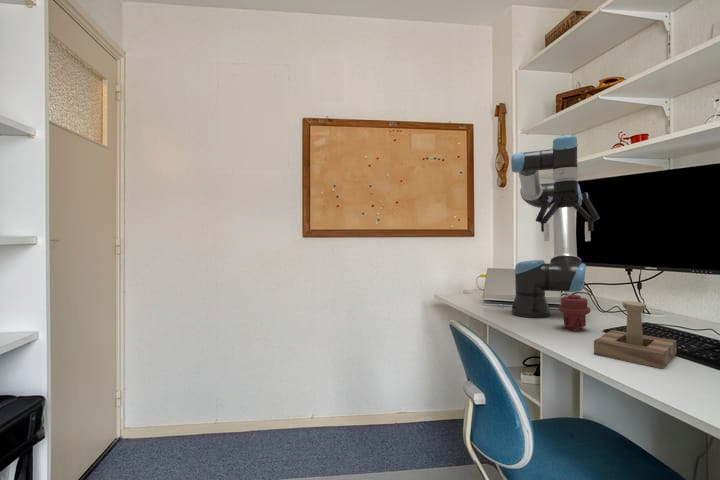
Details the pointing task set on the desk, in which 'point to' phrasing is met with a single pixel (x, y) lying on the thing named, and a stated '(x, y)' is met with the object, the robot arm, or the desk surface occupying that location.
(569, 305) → the mechanical component
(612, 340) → the socket block
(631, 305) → the handle
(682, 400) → the desk surface
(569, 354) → the desk surface
